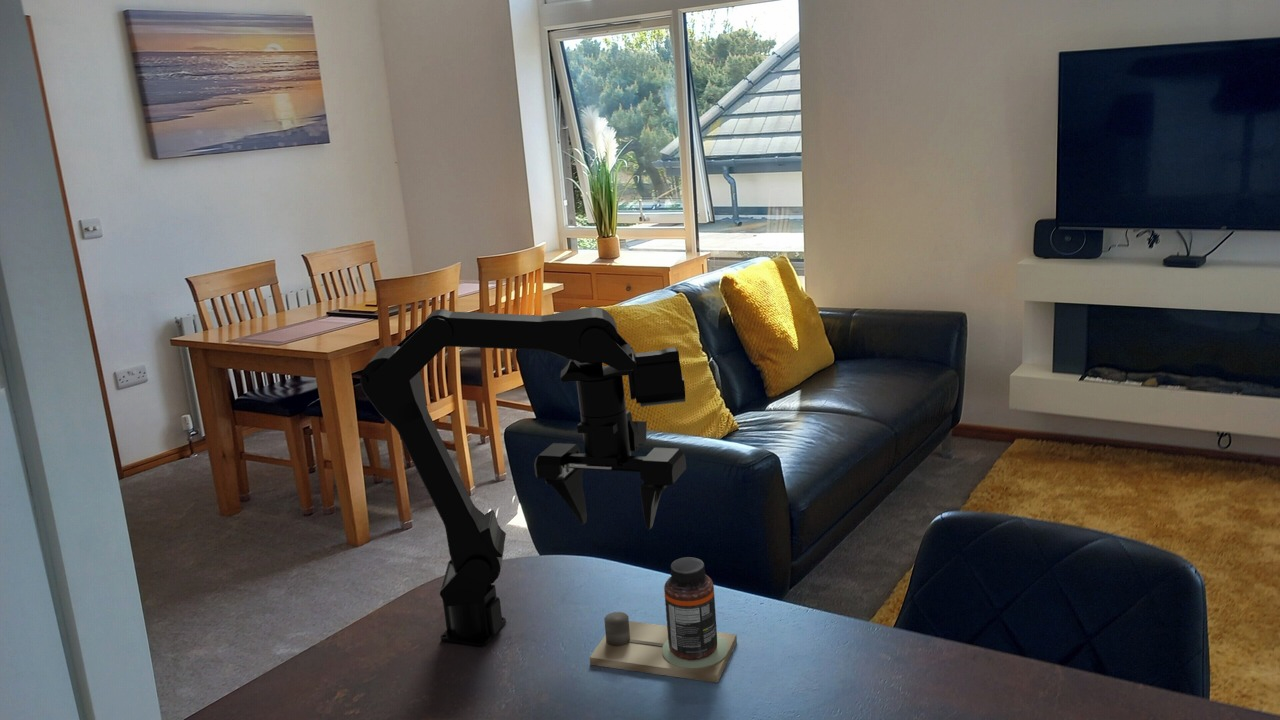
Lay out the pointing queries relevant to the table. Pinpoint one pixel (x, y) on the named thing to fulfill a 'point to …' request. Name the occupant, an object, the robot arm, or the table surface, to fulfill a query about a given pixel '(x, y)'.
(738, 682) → the table surface
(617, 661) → the board
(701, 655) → the supplement bottle
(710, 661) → the pad
